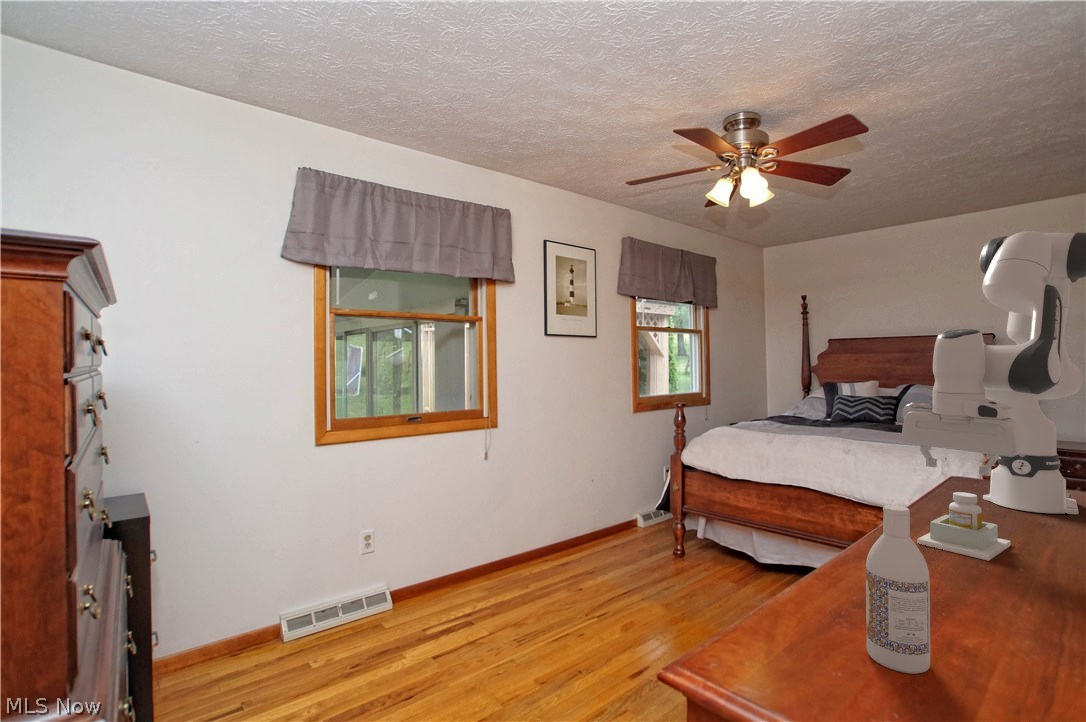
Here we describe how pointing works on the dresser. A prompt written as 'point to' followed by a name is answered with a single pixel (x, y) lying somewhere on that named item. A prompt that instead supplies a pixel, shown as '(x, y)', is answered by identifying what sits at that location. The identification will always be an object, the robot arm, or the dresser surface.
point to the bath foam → (898, 597)
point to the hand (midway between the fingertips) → (957, 470)
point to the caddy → (965, 539)
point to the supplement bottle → (965, 511)
